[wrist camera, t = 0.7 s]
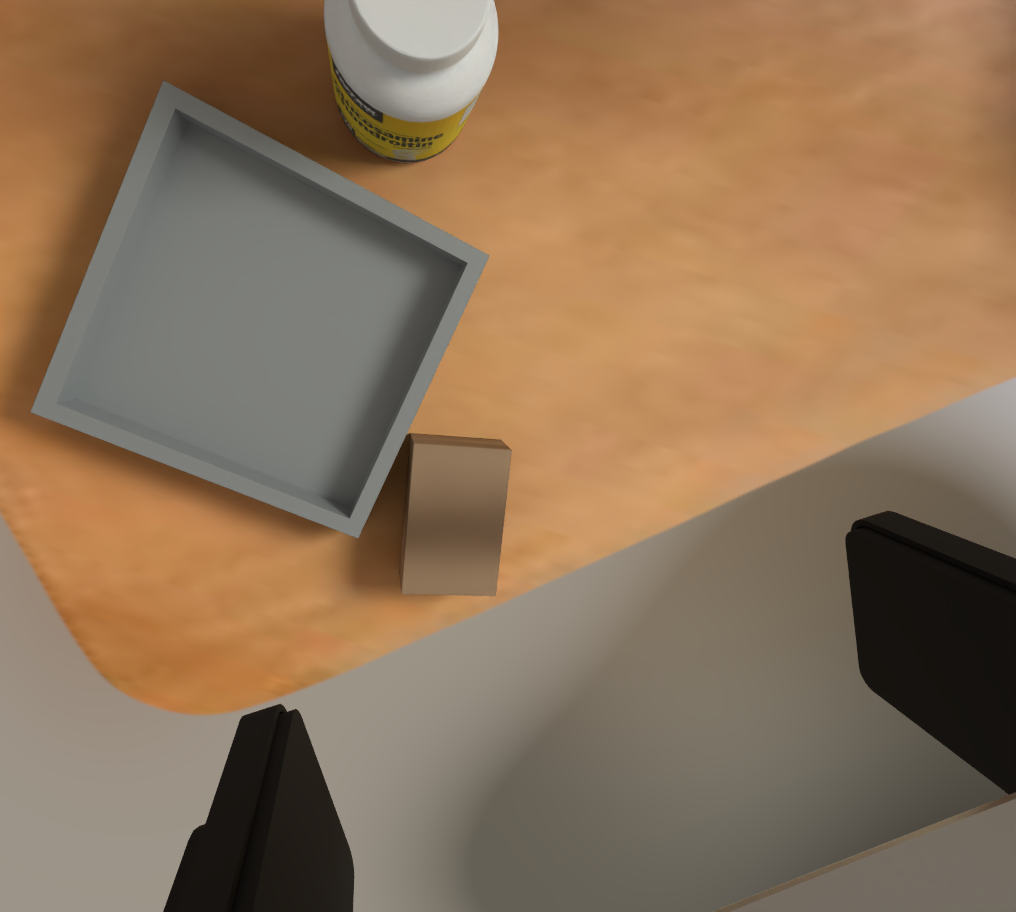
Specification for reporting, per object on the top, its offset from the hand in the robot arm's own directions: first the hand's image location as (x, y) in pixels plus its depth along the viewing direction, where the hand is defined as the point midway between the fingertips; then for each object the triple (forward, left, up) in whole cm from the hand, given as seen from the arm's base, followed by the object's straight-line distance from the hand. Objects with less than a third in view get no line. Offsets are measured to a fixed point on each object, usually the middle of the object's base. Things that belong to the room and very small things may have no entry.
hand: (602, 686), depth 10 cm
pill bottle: (-14, -9, -27) cm, 31 cm away
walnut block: (+4, +2, -26) cm, 27 cm away
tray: (-1, -10, -26) cm, 28 cm away
